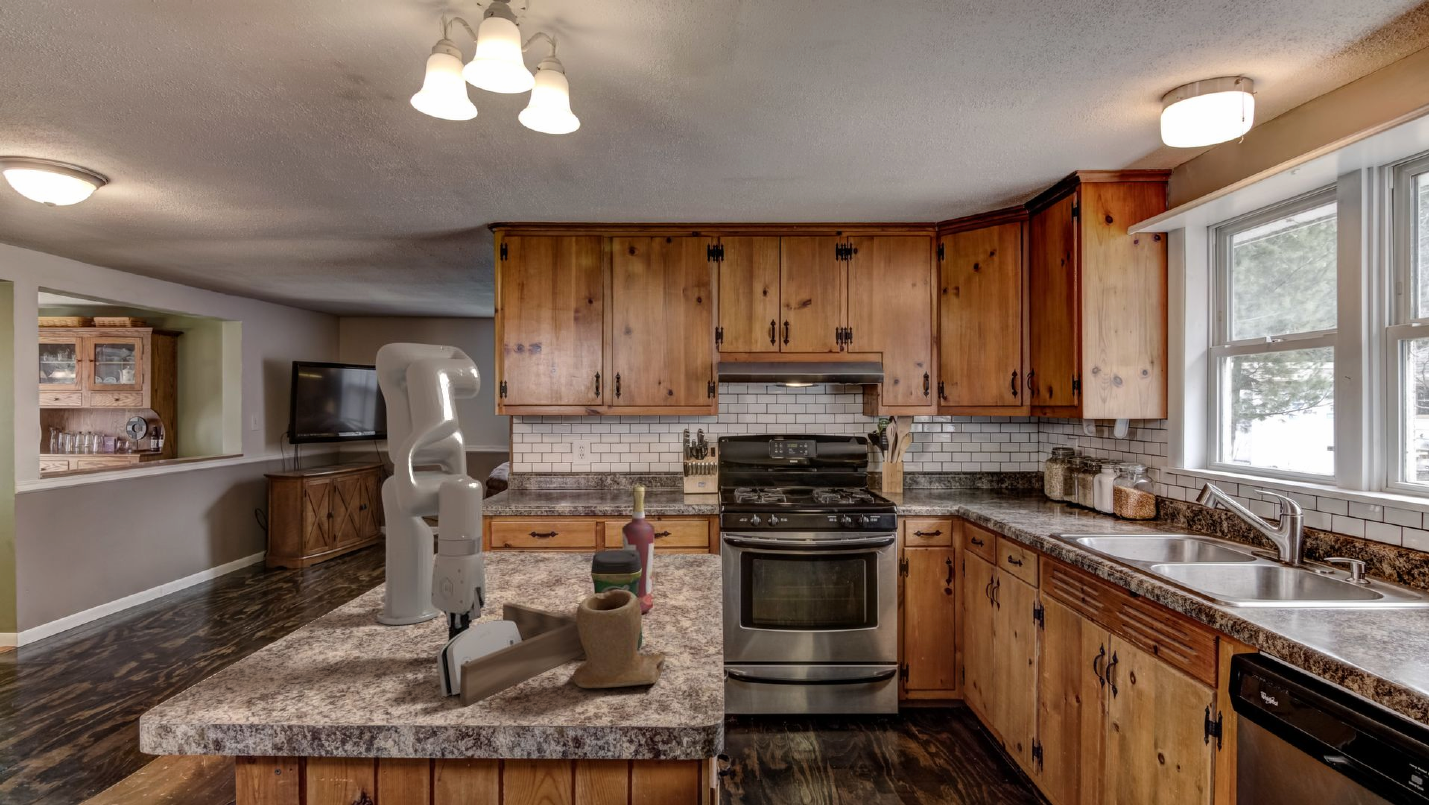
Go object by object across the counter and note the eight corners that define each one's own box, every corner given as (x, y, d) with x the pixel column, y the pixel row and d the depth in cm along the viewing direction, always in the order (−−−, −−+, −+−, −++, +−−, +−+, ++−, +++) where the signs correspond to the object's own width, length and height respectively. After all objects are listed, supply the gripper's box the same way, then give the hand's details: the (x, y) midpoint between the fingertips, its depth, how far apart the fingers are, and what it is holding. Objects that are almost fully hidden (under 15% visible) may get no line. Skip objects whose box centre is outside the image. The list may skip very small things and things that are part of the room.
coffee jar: (643, 640, 126) (644, 546, 126) (640, 655, 118) (640, 554, 118) (594, 641, 126) (595, 546, 126) (587, 656, 118) (587, 554, 118)
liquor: (658, 614, 143) (658, 488, 143) (626, 618, 140) (627, 489, 141) (648, 605, 150) (649, 484, 150) (618, 608, 147) (618, 486, 147)
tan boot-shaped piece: (567, 701, 100) (567, 604, 100) (577, 670, 111) (578, 584, 112) (665, 698, 101) (665, 602, 101) (665, 668, 112) (665, 582, 113)
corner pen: (385, 675, 109) (386, 640, 109) (508, 632, 131) (509, 602, 131) (466, 706, 97) (466, 667, 98) (586, 653, 119) (586, 620, 120)
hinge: (465, 702, 99) (449, 638, 100) (443, 707, 101) (428, 644, 102) (535, 663, 114) (521, 608, 116) (515, 669, 116) (501, 614, 118)
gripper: (416, 545, 119) (415, 645, 118) (469, 555, 111) (467, 662, 110) (452, 538, 125) (451, 633, 125) (504, 548, 117) (502, 649, 117)
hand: (458, 646), depth 118 cm, fingers closed
